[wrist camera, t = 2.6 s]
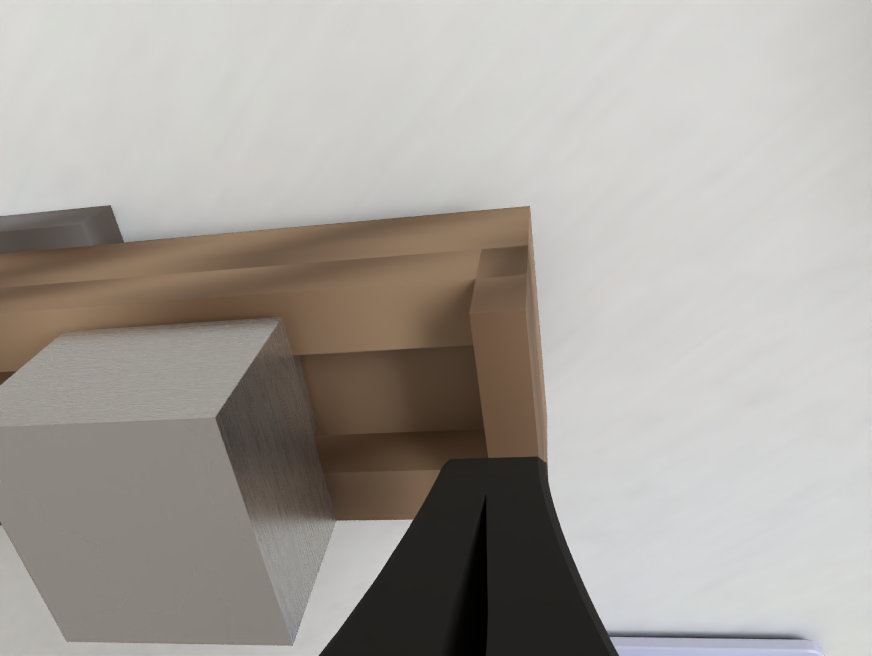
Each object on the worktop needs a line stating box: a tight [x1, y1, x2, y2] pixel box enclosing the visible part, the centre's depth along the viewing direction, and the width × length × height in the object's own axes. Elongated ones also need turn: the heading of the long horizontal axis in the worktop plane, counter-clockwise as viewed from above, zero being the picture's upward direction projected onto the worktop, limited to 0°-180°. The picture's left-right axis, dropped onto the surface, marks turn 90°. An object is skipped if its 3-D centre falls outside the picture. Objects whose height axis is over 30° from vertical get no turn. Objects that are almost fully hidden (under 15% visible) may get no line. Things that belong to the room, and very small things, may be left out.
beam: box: [0, 206, 548, 525], centre depth 16 cm, size 22×6×6 cm, turn 98°
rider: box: [0, 317, 336, 646], centre depth 13 cm, size 4×4×4 cm
